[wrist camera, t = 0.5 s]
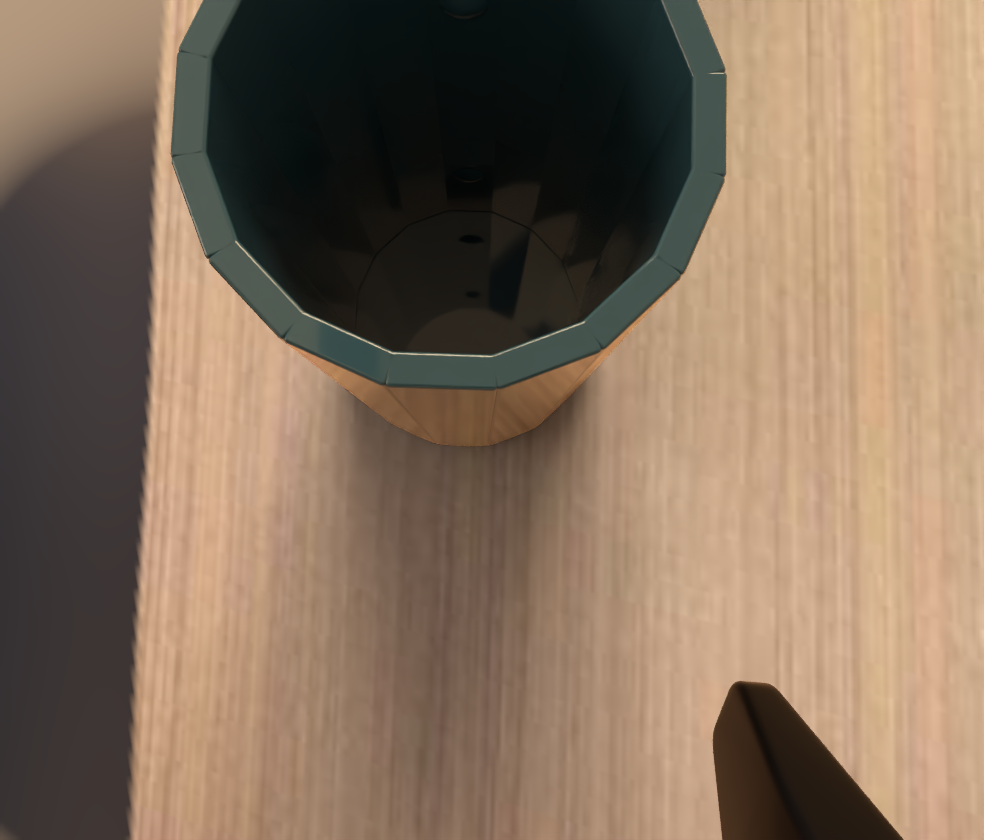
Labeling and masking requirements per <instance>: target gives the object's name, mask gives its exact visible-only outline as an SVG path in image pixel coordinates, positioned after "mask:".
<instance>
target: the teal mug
mask: <svg viewBox="0 0 984 840" xmlns="http://www.w3.org/2000/svg"><path fill="white" fill-rule="evenodd" d="M726 133H727V75H726V73H725V66H724V64H723V61H722V59H721V56H720V54H719V52H718V49H717V47H716V44H715V42H714V40H713V37H712V35H711V32H710V30H709V28H708V25H707V23H706V20H705V18H704V16H703V13H702V11H701V8H700V6H699V4H698V1H697V0H203V2H202V4H201V6H200V8H199V10H198V12H197V13H196V15H195V17H194V19H193V21H192V23H191V25H190V27H189V29H188V31H187V33H186V35H185V37H184V39H183V41H182V43H181V45H180V47H179V53H178V54H177V66H176V81H175V96H174V111H173V127H172V142H171V156H172V165H173V167H174V170H175V173H176V176H177V178H178V181H179V184H180V187H181V190H182V192H183V195H184V198H185V201H186V204H187V206H188V209H189V212H190V215H191V218H192V220H193V223H194V226H195V229H196V232H197V234H198V237H199V240H200V243H201V245H202V248H203V251H204V254H205V256H206V257H207V259H209V262H210V264H211V265H212V266H213V267H214V269H215V270H216V271H217V272H218V273H219V274H220V275H221V276H222V277H223V278H224V279H225V280H226V281H227V283H228V284H229V285H230V286H231V287H232V288H233V289H234V290H235V291H236V292H237V293H238V294H239V295H240V296H241V298H242V299H243V300H244V301H245V302H246V303H247V304H248V305H249V306H250V307H251V308H252V309H253V310H254V312H255V313H256V314H257V315H258V316H259V317H260V318H261V319H262V320H263V321H264V322H265V323H266V324H267V325H268V327H269V328H270V329H271V330H272V331H273V332H274V333H275V334H276V335H277V336H278V337H279V338H280V339H281V340H282V341H284V342H285V343H286V344H288V345H289V346H290V347H292V348H293V349H294V350H296V351H297V352H298V353H299V354H301V355H302V356H303V357H305V358H306V359H307V360H309V361H310V362H311V363H312V364H314V365H315V366H316V367H318V368H319V369H320V370H322V371H323V372H324V373H326V374H327V375H328V376H329V377H331V378H332V379H333V380H335V381H336V382H337V383H339V384H340V385H341V386H343V387H344V388H345V389H346V390H348V391H349V392H350V393H352V394H353V395H354V396H356V397H357V398H358V399H359V400H361V401H362V402H363V403H365V404H366V405H367V406H369V407H370V408H371V409H373V410H374V411H375V412H376V413H378V414H379V415H380V416H382V417H383V418H384V419H386V420H387V421H388V422H390V423H391V424H392V425H395V426H397V427H399V428H401V429H403V430H406V431H408V432H410V433H412V434H413V435H415V436H418V437H421V438H423V439H426V440H428V441H430V442H432V443H435V444H439V445H453V446H487V445H492V444H495V443H498V442H501V441H505V440H508V439H511V438H513V437H516V436H518V435H520V434H522V433H524V432H527V431H530V430H532V429H534V428H535V427H538V426H539V425H540V424H541V423H542V422H543V421H544V420H545V419H546V418H547V417H548V416H549V415H550V414H552V413H553V412H554V411H555V410H556V409H557V408H558V407H559V406H560V405H561V404H562V403H563V402H564V401H565V400H566V399H567V398H568V397H569V396H570V395H571V394H572V393H573V392H574V391H575V390H576V389H577V388H578V387H579V386H580V385H581V384H582V383H583V382H584V381H585V380H586V379H587V377H588V376H589V375H590V374H591V373H592V372H593V371H594V370H595V369H596V368H597V367H598V366H599V365H600V364H601V363H602V362H603V361H604V359H605V358H606V357H607V356H608V355H609V354H610V353H611V352H612V351H613V350H614V349H615V348H616V347H617V346H618V345H619V344H620V342H621V341H622V340H623V339H624V338H625V337H626V336H627V335H628V334H629V333H630V332H631V331H632V330H633V329H634V328H635V327H636V325H637V324H638V323H639V322H640V321H641V320H642V319H643V318H644V317H645V316H646V315H647V314H648V313H649V312H650V311H651V310H652V309H653V307H654V306H655V305H656V304H657V303H658V302H659V301H660V300H661V299H662V298H663V297H664V296H665V295H666V294H667V293H668V292H669V290H670V289H671V288H672V287H673V286H674V285H675V284H676V283H677V282H678V281H679V280H680V278H681V276H682V275H683V274H684V273H685V271H686V269H687V267H688V264H689V262H690V260H691V257H692V255H693V253H694V251H695V248H696V246H697V244H698V241H699V239H700V237H701V235H702V232H703V230H704V228H705V225H706V223H707V221H708V219H709V216H710V214H711V212H712V209H713V207H714V205H715V203H716V200H717V198H718V196H719V194H720V191H721V189H722V187H723V184H724V180H725V178H724V177H725V175H726Z"/></svg>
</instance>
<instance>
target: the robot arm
mask: <svg viewBox="0 0 984 840" xmlns="http://www.w3.org/2000/svg"><path fill="white" fill-rule="evenodd" d="M713 754H714V764H715V773H716V783H717V792H718V802H719V811H720V821H721V831H722V840H903V838H902V837H901V836H900V835H899V834H898V832H897V831H896V830H895V829H894V828H893V826H892V825H891V824H890V823H889V822H888V821H887V819H886V818H885V817H884V816H883V815H882V813H881V812H880V811H879V810H878V809H877V807H876V806H875V805H874V804H873V803H872V801H871V800H870V799H869V798H868V797H867V795H866V794H865V793H864V792H863V791H862V790H861V788H860V787H859V786H858V785H857V784H856V782H855V781H854V780H853V779H852V778H851V776H850V775H849V774H848V773H847V772H846V770H845V769H844V768H843V767H842V766H841V765H840V763H839V762H838V761H837V760H836V759H835V757H834V756H833V755H832V754H831V753H830V751H829V750H828V749H827V748H826V747H825V745H824V744H823V743H822V742H821V741H820V739H819V738H818V737H817V736H816V735H815V734H814V732H813V731H812V730H811V729H810V728H809V726H808V725H807V724H806V723H805V722H804V720H803V719H802V718H801V717H800V716H799V714H798V713H797V712H796V711H795V710H794V708H793V707H792V706H791V705H790V704H789V703H788V701H787V700H786V699H785V698H784V697H783V695H782V694H781V693H780V692H779V691H778V690H777V689H776V688H775V687H774V686H772V685H770V684H767V683H758V682H745V681H738V682H735V683H734V684H733V685H732V686H731V688H730V690H729V692H728V694H727V697H726V700H725V702H724V705H723V707H722V710H721V712H720V715H719V717H718V720H717V722H716V725H715V728H714V733H713Z"/></svg>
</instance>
